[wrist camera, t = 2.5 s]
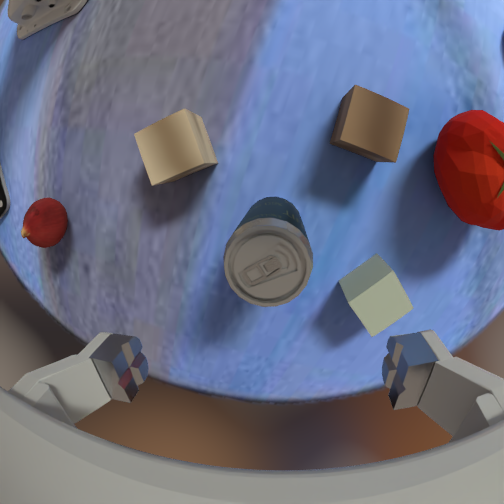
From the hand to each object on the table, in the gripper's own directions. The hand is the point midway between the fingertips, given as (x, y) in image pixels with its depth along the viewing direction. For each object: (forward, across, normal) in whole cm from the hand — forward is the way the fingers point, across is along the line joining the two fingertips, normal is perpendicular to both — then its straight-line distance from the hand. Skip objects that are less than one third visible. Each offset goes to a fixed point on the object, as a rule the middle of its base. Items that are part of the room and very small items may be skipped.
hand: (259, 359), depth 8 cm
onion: (+20, +26, -3) cm, 33 cm away
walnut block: (+20, -9, -9) cm, 24 cm away
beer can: (+20, 0, 0) cm, 20 cm away
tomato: (+20, -21, -6) cm, 30 cm away
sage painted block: (+20, -10, +7) cm, 23 cm away
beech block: (+20, +8, -8) cm, 23 cm away
